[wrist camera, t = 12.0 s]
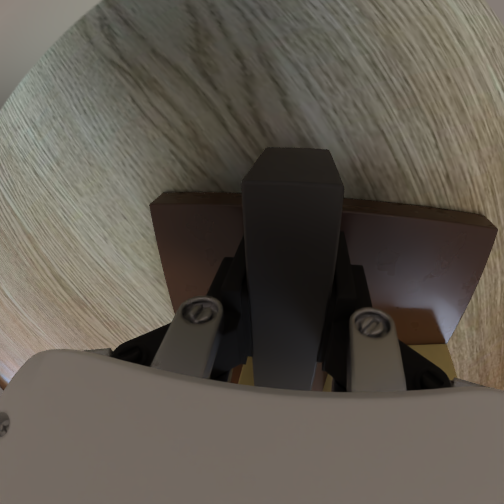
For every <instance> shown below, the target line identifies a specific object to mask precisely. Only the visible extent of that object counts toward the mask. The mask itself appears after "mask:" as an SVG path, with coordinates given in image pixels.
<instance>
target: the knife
mask: <svg viewBox="0 0 504 504" xmlns="http://www.w3.org/2000/svg"><path fill="white" fill-rule="evenodd" d="M241 191H242V208H243V224H244V241H245V257H246V273H247V288H248V293H249V308H250V324H251V339H252V355H253V357H252V363H253V377H254V386H258V387H267V388H277V389H289V390H302V391H311V390H312V386H313V382H314V378H315V373H316V369H317V364H318V362H317V358H318V354H319V349H320V344H321V339H322V334H323V329H324V323H325V318H326V312H327V306H328V301H329V299H330V297H331V292H332V285H333V279H334V272H335V265H336V258H337V251H338V243H339V235H340V226H341V217H342V207H343V196H344V186H343V183H342V181H341V178H340V176H339V173H338V170H337V168H336V165H335V163H334V160H333V158H332V156H331V153H330V151H329V150H328V149H310V148H280V147H267V148H265V150H264V151H263V152H262V154H261V155H260V157H259V158H258V159H257V161H256V162H255V163H254V165H253V166H252V168H251V169H250V171H249V172H248V173H247V175H246V176H245V178H244V179H243V180H242V183H241Z"/></svg>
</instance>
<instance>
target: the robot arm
mask: <svg viewBox="0 0 504 504" xmlns="http://www.w3.org/2000/svg"><path fill="white" fill-rule="evenodd" d="M248 356H249V357H253V355H252V339H251V324H250V308H249V293H248V288H247V273H246V257H245V241H244V234H243V237H242V239H241V241H240V244H239V246H238V249H237V251H236V253H235V256H234V257H224V258H223V260H222V262H221V264H220V266H219V269H218V271H217V273H216V275H215V277H214V279H213V281H212V284H211V286H210V288H209V290H208V292H207V294H206V296H196V297H192V298H190V299H188V300H186V301H185V302H183V303H182V304H181V305H180V307H179V308H178V310H177V312H176V314H175V316H174V318H173V320H172V322H171V323H169V324H167V325H165V326H162V327H160V328H158V329H155V330H153V331H151V332H148V333H146V334H144V335H141V336H139V337H137V338H134V339H132V340H129V341H127V342H125V343H123V344H121V345H119V346H118V347H117V348H116V349H115V350H114V351H112V350H111V348H106V349H96V350H84V351H81V350H72V349H53V350H46V351H42V352H39V353H37V354H35V355H33V356H32V357H31V358H30V359H28V360H27V361H26V362H25V364H24V365H23V366H22V367H21V368H20V369H19V371H18V372H17V373H16V374H15V376H14V377H13V378H12V380H11V381H10V382H9V384H8V385H7V387H6V388H5V390H4V391H3V393H2V395H1V396H0V504H504V391H503V390H499V389H495V388H490V387H486V386H483V385H479V384H475V383H472V382H468V381H465V380H461V379H458V378H455V377H454V379H453V380H449V378H448V376H447V374H446V373H445V372H444V371H443V370H442V369H441V368H439V367H438V366H436V365H435V364H433V363H432V362H431V361H429V360H428V359H426V358H425V357H423V356H422V355H421V354H419V353H418V352H416V351H415V350H413V349H412V348H411V347H409V346H408V345H406V344H405V343H403V342H402V341H400V340H399V339H398V336H397V331H396V327H395V323H394V321H393V319H392V318H391V316H390V315H389V314H387V313H386V312H384V311H383V310H380V309H378V308H373V307H372V302H371V298H370V293H369V289H368V284H367V280H366V276H365V272H364V268H363V266H362V265H352V264H351V263H350V258H349V253H348V248H347V243H346V239H345V234H344V231H340V235H339V243H338V251H337V258H336V265H335V272H334V279H333V285H332V292H331V297H330V299H329V301H328V306H327V312H326V318H325V323H324V329H323V334H322V339H321V344H320V349H319V354H318V358H317V362H322V371H326V372H327V373H328V374H329V375H330V376H331V377H333V379H332V387H331V392H321V391H302V390H289V389H277V388H267V387H258V386H250V385H242V384H235V383H230V382H231V377H232V373H233V368H234V367H236V366H238V365H240V364H244V365H246V362H247V358H248Z"/></svg>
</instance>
